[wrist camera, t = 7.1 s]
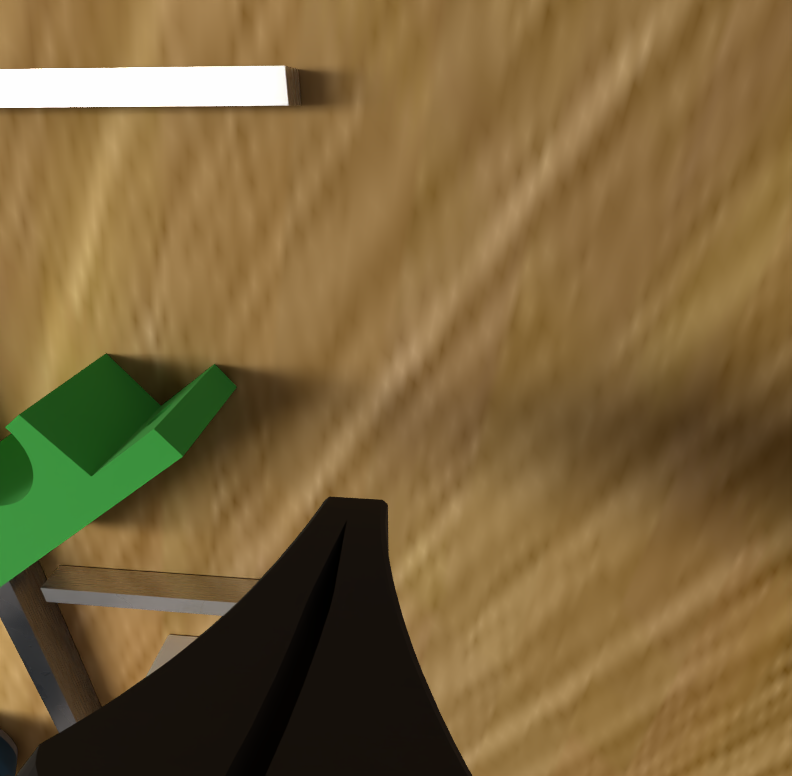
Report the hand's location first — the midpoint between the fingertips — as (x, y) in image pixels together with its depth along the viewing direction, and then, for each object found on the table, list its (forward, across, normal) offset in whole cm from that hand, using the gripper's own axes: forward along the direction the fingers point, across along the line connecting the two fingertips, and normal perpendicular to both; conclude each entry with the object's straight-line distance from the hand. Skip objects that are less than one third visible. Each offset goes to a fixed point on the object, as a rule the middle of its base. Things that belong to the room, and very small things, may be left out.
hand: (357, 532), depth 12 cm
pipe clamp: (+6, +10, +2) cm, 12 cm away
